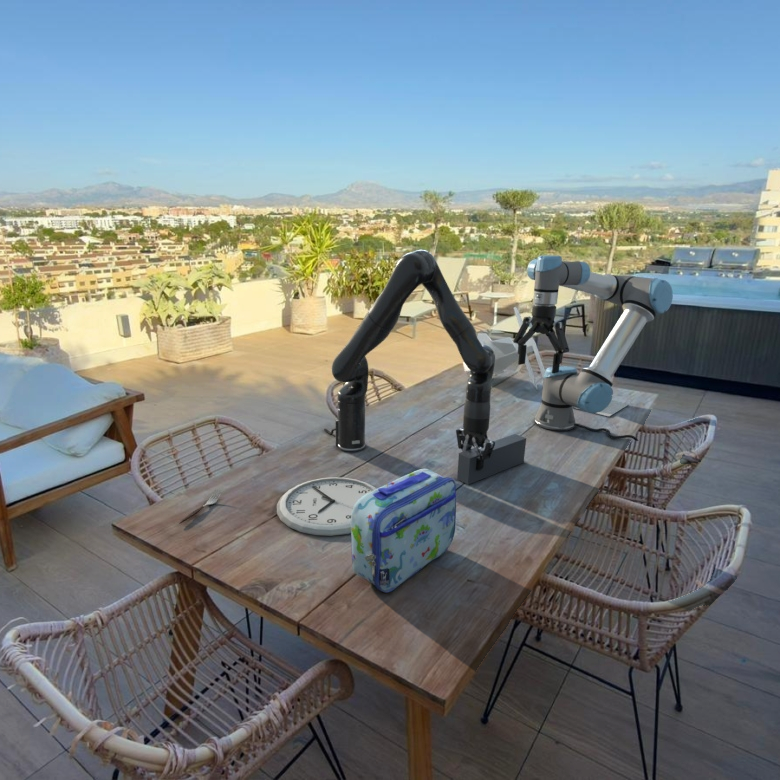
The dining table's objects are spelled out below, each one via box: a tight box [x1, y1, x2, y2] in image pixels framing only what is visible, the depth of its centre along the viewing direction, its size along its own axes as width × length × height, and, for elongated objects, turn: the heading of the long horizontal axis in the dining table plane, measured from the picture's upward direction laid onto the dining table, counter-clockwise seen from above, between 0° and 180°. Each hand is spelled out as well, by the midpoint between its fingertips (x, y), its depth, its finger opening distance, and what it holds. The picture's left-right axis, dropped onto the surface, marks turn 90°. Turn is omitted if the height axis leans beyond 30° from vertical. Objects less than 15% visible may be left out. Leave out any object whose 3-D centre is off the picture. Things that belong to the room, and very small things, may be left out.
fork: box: [178, 489, 223, 525], centre depth 139 cm, size 3×16×2 cm, turn 160°
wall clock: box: [276, 476, 378, 537], centre depth 142 cm, size 30×2×30 cm
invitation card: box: [573, 400, 629, 418], centre depth 226 cm, size 21×1×15 cm
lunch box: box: [350, 468, 457, 593], centre depth 114 cm, size 26×11×21 cm, turn 134°
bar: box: [456, 433, 527, 485], centre depth 163 cm, size 26×5×9 cm, turn 128°
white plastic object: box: [462, 306, 546, 390], centre depth 260 cm, size 37×45×31 cm
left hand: (472, 466), depth 158 cm, fingers closed on bar, 4 cm apart
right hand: (537, 368), depth 175 cm, fingers open, 13 cm apart
